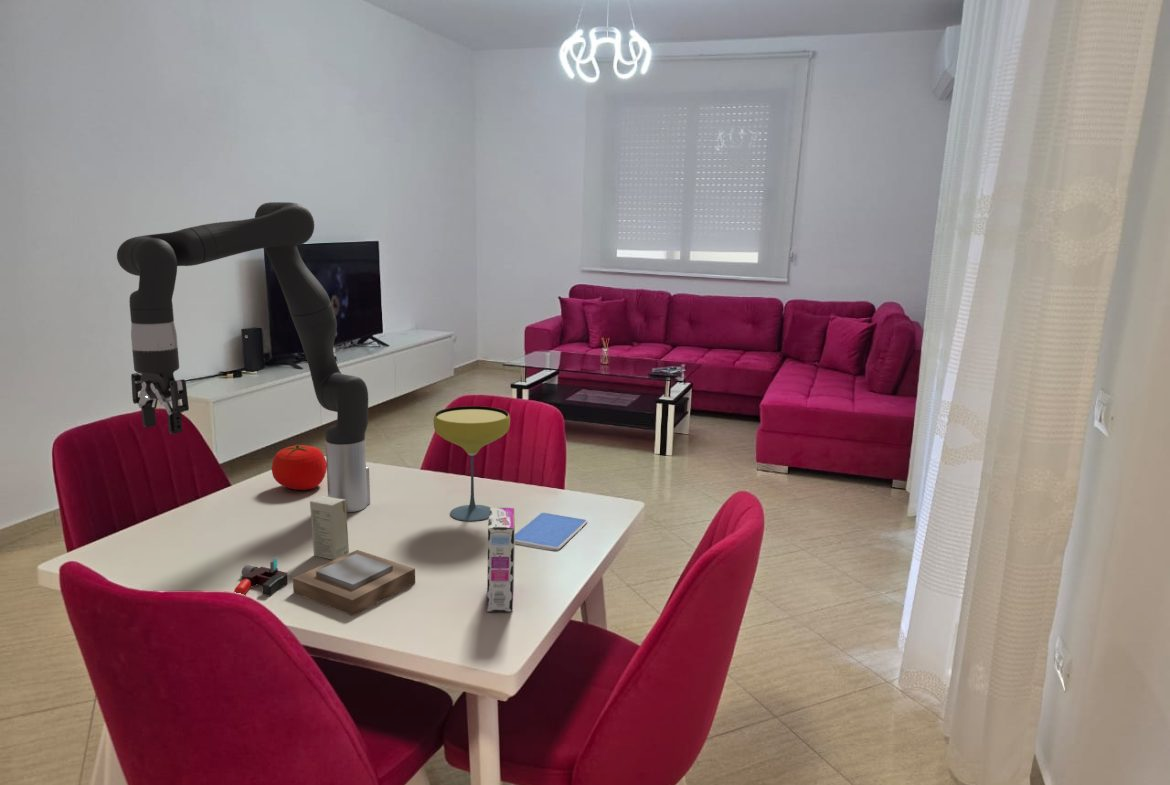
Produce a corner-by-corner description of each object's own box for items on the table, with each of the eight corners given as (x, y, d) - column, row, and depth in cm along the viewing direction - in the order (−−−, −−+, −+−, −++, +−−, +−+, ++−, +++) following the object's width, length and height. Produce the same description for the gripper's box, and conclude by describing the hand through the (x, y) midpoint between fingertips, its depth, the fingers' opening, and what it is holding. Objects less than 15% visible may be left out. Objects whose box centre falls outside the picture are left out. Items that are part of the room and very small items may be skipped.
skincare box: (349, 553, 166) (347, 499, 163) (335, 561, 162) (333, 505, 159) (326, 548, 168) (324, 494, 166) (311, 555, 165) (309, 500, 162)
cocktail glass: (522, 518, 189) (523, 417, 184) (454, 532, 179) (453, 427, 174) (488, 496, 203) (488, 403, 198) (423, 508, 193) (421, 410, 188)
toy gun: (249, 572, 157) (247, 549, 156) (295, 584, 152) (294, 560, 151) (209, 592, 148) (207, 568, 147) (257, 605, 143) (256, 580, 142)
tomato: (337, 484, 210) (336, 442, 207) (300, 499, 198) (298, 455, 195) (301, 477, 215) (299, 436, 213) (262, 491, 203) (260, 448, 200)
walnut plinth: (357, 563, 161) (357, 545, 160) (415, 582, 153) (415, 563, 152) (293, 592, 148) (292, 573, 147) (353, 615, 140) (352, 595, 139)
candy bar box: (514, 612, 142) (514, 528, 139) (486, 613, 142) (486, 528, 138) (514, 585, 153) (515, 506, 150) (488, 585, 153) (488, 506, 149)
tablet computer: (541, 516, 192) (541, 511, 192) (589, 523, 188) (589, 518, 187) (506, 544, 174) (506, 538, 174) (558, 553, 170) (558, 548, 170)
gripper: (196, 347, 146) (203, 431, 149) (152, 340, 153) (159, 420, 156) (157, 352, 139) (165, 439, 143) (113, 344, 146) (121, 428, 150)
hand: (162, 429), depth 149 cm, fingers open, 8 cm apart
